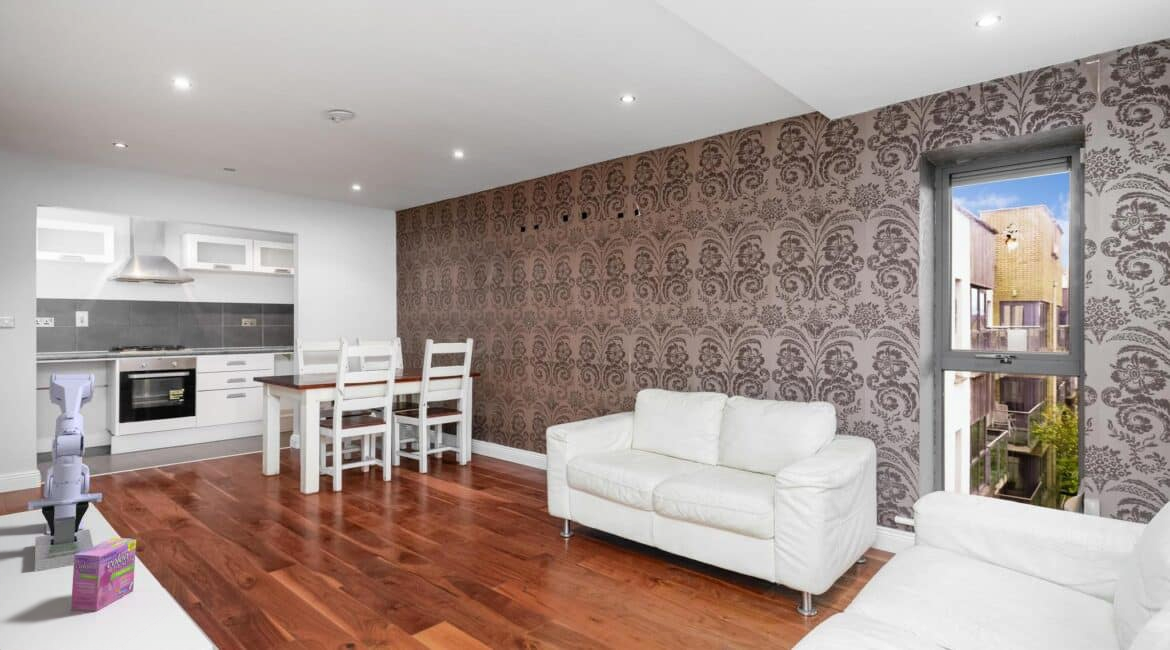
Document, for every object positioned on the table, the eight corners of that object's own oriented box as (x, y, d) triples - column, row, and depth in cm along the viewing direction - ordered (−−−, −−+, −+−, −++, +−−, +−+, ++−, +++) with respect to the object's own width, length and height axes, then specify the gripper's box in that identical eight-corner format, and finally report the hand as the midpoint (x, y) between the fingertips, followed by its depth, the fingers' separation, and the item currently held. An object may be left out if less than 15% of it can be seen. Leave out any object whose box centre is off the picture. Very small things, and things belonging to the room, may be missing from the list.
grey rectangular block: (53, 549, 159) (54, 518, 159) (73, 546, 162) (74, 516, 162) (53, 554, 156) (54, 522, 156) (73, 550, 159) (75, 520, 159)
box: (96, 612, 128) (99, 555, 128) (70, 610, 128) (73, 554, 128) (134, 590, 138) (137, 538, 138) (109, 589, 138) (112, 537, 138)
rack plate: (35, 546, 161) (35, 536, 161) (88, 538, 168) (89, 528, 168) (34, 571, 146) (35, 560, 146) (93, 561, 153) (94, 550, 153)
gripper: (29, 488, 151) (26, 543, 151) (103, 480, 161) (100, 532, 161) (29, 482, 157) (26, 535, 156) (101, 474, 166) (98, 524, 166)
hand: (64, 533), depth 159 cm, fingers closed on grey rectangular block, 4 cm apart
